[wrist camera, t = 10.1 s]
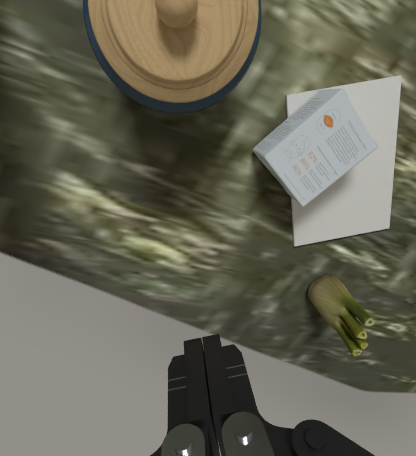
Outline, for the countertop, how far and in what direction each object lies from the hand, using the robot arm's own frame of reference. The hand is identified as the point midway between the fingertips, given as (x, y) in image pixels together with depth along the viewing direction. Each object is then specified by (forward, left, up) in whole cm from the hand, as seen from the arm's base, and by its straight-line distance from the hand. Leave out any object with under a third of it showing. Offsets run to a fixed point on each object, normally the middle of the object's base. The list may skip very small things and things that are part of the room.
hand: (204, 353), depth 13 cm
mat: (+2, +21, -29) cm, 36 cm away
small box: (+1, +11, -26) cm, 28 cm away
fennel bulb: (+20, +18, -29) cm, 40 cm away
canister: (-15, +2, -29) cm, 33 cm away
